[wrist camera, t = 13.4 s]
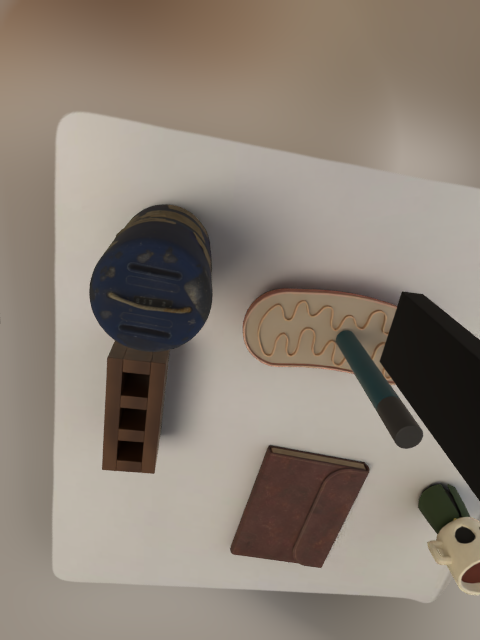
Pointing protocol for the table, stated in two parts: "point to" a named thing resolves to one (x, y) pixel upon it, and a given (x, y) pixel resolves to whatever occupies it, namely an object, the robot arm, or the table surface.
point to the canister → (154, 280)
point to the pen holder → (133, 408)
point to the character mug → (453, 536)
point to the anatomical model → (315, 328)
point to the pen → (380, 392)
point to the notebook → (298, 506)
